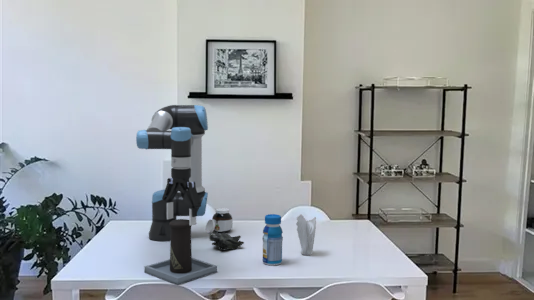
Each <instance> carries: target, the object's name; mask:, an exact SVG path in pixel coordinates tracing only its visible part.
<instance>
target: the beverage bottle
mask: <svg viewBox="0 0 534 300" xmlns="http://www.w3.org/2000/svg"><path fill="white" fill-rule="evenodd" d="M264 224H265V226H264V227H263V230H262V234H263V235H262V263H263V264H264V265H268V266H279V265H281V264H282V263H283V240H284V239H283V238H284V237H283V229H282V227H281V224H282V216H281V215H280V214H274V213H272V214H271V213H270V214H265V215H264Z"/></svg>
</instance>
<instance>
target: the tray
mask: <svg viewBox="0 0 534 300" xmlns="http://www.w3.org/2000/svg"><path fill="white" fill-rule="evenodd" d="M191 258H192V270H191V271H190V272H187V273H173V272H171V271H170V258H169V259H166V260H162V261H158V262H156V263H151V264H149V265H145V266H144V268H143V269H144V273H145V274H146V275H149V276H152V277H155V278H158V279H160V280H162V281H166V282H168V283H171V284H174V285H176V286H179V285H182V284H185V283H189V282H192V281H194V280H198V279H201V278H205V277H206V276H209V275H213V274H216V273H218V265H216V264H213V263H211V262H210V263H209V262H205V261H204V260H200V259H196V258H193V257H191Z"/></svg>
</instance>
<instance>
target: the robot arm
mask: <svg viewBox="0 0 534 300" xmlns="http://www.w3.org/2000/svg"><path fill="white" fill-rule="evenodd" d="M207 115H208V114H207V109H206V107H205V106H203V105H199V104H198V105H197V104H185V105H184V104H179V105H177V104H171V105H170V104H169V105H167V106H164V107H162V108H159V109H158V110H156V111H155V112H154V114H153V115H152V118H151V122H150V124H149V126H148V127H147V129H141V130H138V131H137V132H136V140H135V141H136V143H135V144H136V147H137V148H138V150H139V149H141V150H170V152H171V153H170V158H171V159H170V161H171V163H170V166H171V168H170V169H171V170H170V173H171V174H170V177H168V178H167V180H166V181H167V182H166V185H165V188H164V189H160V190H155V191H154V192H153V193H152V198H151V199H152V200H151V209H152V210H151V212H152V213H151V214H152V215H151V217H152V218H151V220H152V221H151V225H150V227H149V232H148V240H152V241H156V242H158V241H159V242H167V241H169V242H170V238H171V237H170V236H171V227H170V225H169V223H170V222H171V221H173V220H177V217H189V218H188V220H189V225H190V226H191V225H192V226H196V225H197V217H202V216H205V214H206V211H207V210H206V209H207V202H208V195H209V194H208V192H207V191H206V189H205V187H204V186H203V184H202V183H203V182H202V181H203V180H202V179H203V177H202V176H203V175H202V174H203V172H202V171H203V168H202V167H203V166H202V163H203V162H202V161H203V157H202V153H203V151H202V147H203V146H202V145H203V144H202V141H203V136H204V135H206V134H205V133H206V131H208V129H209V124H208V116H207ZM192 226H191V227H192Z"/></svg>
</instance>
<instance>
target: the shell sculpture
mask: <svg viewBox="0 0 534 300" xmlns="http://www.w3.org/2000/svg"><path fill="white" fill-rule="evenodd" d="M296 220H297V221H296V226H297V227H296V231H297V235H298V236H297V237H298V238H299V239H298V240H299V243H300V247H301V251H300V254H301V255H304V256H311V255H312V254H313V253H314V250H313V249H314V244H315V237H316V228H317V226H316V225H317V217H316V216H314V217H312V219H310V220H307V219H306V218H305V217H304V215H303V214H299V215H298V216H297V217H296Z"/></svg>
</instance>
